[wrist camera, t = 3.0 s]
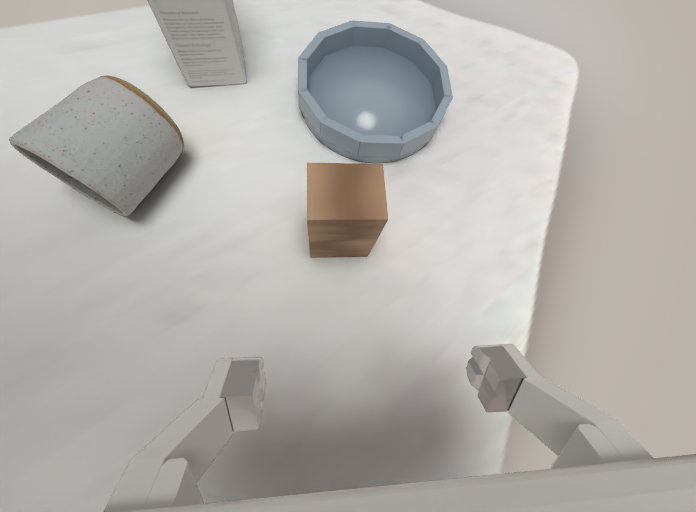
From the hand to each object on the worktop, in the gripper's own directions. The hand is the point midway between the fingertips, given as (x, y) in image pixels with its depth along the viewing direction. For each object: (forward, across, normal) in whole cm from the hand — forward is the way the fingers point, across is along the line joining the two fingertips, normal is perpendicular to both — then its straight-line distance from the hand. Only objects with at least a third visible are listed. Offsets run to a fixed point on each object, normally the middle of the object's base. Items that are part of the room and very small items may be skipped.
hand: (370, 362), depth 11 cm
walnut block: (+16, 0, +2) cm, 16 cm away
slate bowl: (+27, -4, -9) cm, 28 cm away
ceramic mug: (+21, +19, -3) cm, 28 cm away
